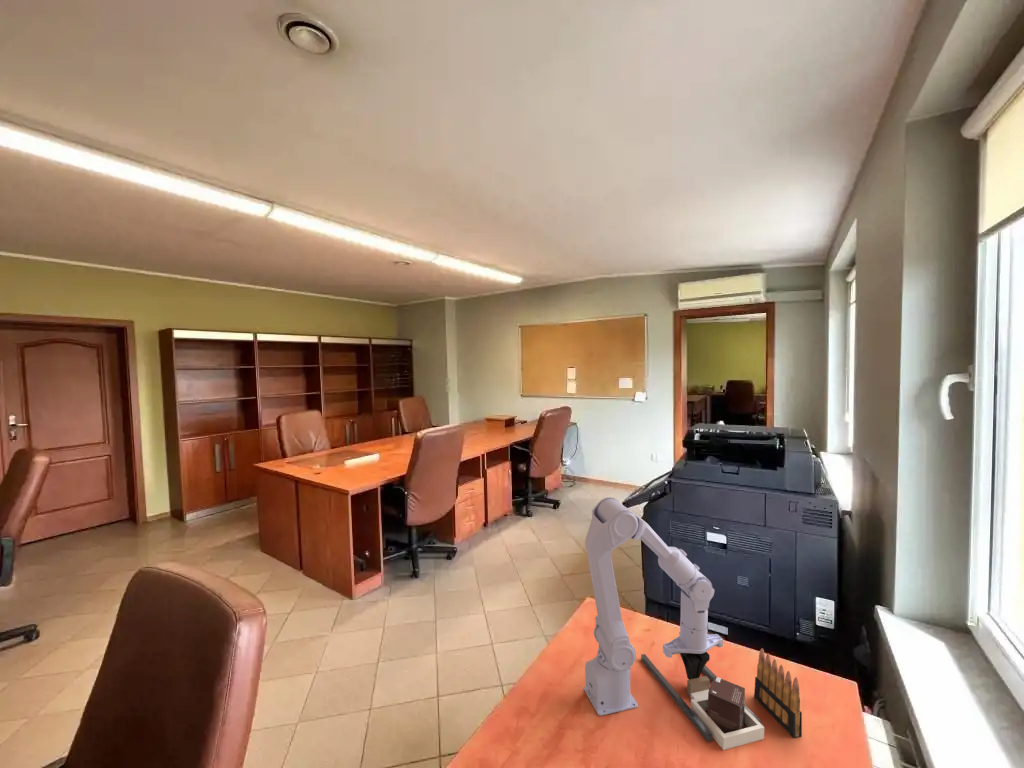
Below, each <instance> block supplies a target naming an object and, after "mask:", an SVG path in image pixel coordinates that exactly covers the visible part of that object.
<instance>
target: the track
mask: <svg viewBox="0 0 1024 768" xmlns="http://www.w3.org/2000/svg"><path fill="white" fill-rule="evenodd" d="M640 660H641V662H642V663H643V665H645V667H646V668H647V669H648V670H649V671H650V673H651V674H652V675H653V677H654V678H655V680H657V682H659V684H660V685H661V686H662V688H664V690H665V691H666V692H667V694H668V696H670V698H671V699H672V700H673V701H674V702H675V704H676V705H677V706H678V708H680V710H681V712H683V714H684V715H685V716H686V718H687V719H688V720H689V721H690V723H691V724H692V725H693V726H694V727H695V729H696V730H697V732H699V733H700V735H701V736H702V737H703V739H704V740H705V741H706V742H707V743H711V742H713V737H712V734H711V733H710V731H709V730H708V729H707V728H706V727H705V725H704V724H703V723H702V722H701V721H700V719H699V718H698V717H697V716H696V715H695V713H694V712H693V711H692V710H691V706H689V705H688V704H687V703H686V702H685V700H684V699H683V698H682V697H681V695H680V694H679V693H678V692H677V690H676V689H675V688H674V687H673V686H672V685H671V683H670V682H669V681H668V680H667V679H666V678H665V676H664V675H663V674H662V673H661V671H660V670H659V669H658V668H657V667H656V665H655V664H654V663H653V661H652V660H651V659H650V658H649V657H648V656H647V655H646V653H642V654H640ZM701 673H702V674H704V676H707V677H708V678H709V679H710V682H712V681H713V678H714V676H715V677H718V676H717V675H716V674H715V673H714V672H713V671H712V670H711V669H710V668H709V667H707V665H706V664H705V666H704V668H703V670H702V672H701ZM745 708H746V709H747V710H748V711H749V712H750V713H751V714H752V715H753V716H754V717H755V718H756V719H757V720H758V721H759V722H760V723H761V724H762V725H763V721H762V720H761V719H760V718H759V717H758V716H757V715H756V714H755V713H754V712H753V711H752V710H751V709H750V708H749V707H748V706H747V705H746V704H745Z"/></svg>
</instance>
